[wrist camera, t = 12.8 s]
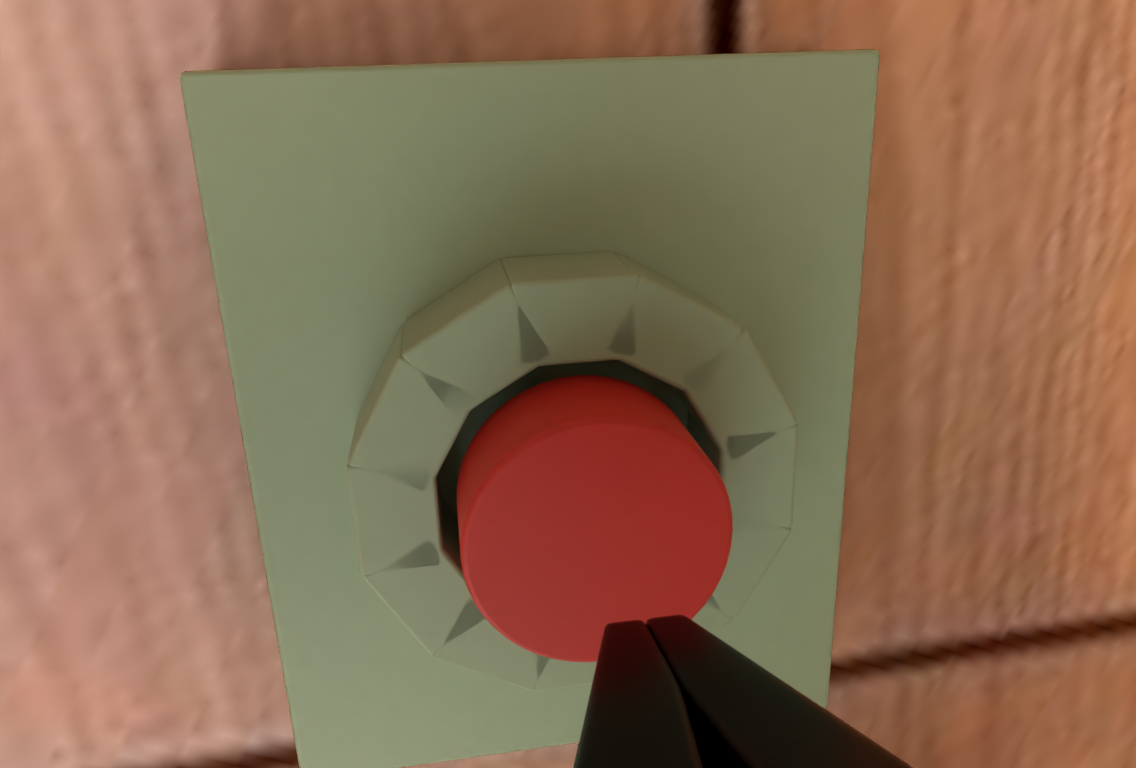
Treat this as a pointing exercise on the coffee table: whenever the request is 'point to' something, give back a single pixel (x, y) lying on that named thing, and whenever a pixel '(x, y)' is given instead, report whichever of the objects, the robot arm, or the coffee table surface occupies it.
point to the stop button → (588, 515)
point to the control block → (526, 347)
